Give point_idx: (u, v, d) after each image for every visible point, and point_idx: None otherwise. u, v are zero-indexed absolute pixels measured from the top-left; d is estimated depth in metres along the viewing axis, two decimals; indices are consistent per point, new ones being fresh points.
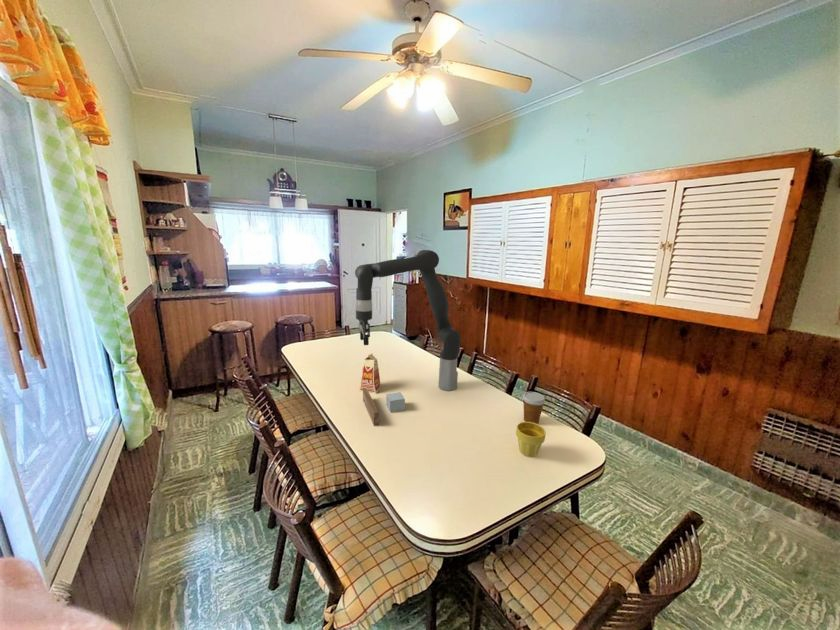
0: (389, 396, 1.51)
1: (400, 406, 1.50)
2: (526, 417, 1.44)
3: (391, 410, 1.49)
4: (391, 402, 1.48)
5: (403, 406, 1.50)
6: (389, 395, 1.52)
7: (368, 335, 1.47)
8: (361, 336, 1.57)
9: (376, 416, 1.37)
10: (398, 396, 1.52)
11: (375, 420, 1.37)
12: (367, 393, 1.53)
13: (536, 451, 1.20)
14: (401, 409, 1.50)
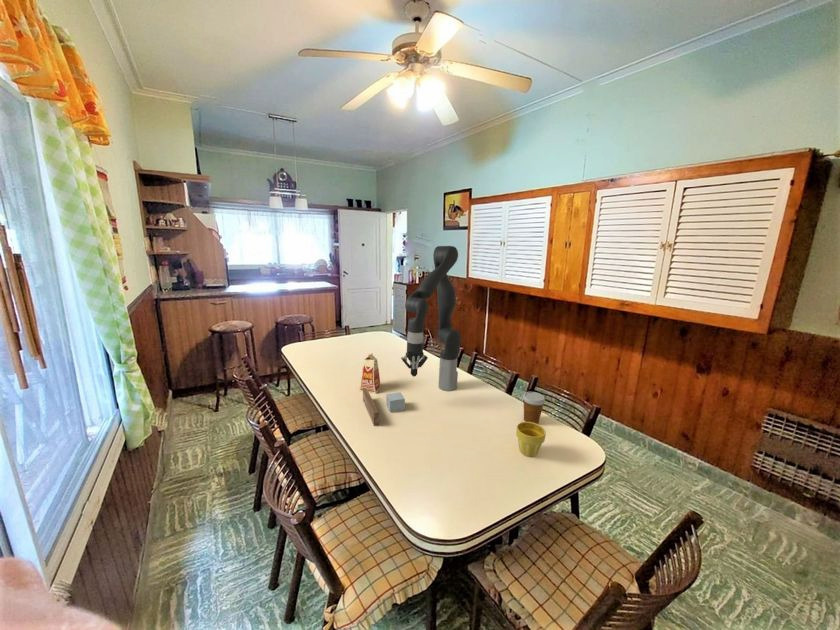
0: (389, 396, 1.51)
1: (400, 406, 1.50)
2: (526, 417, 1.44)
3: (391, 410, 1.49)
4: (391, 402, 1.48)
5: (403, 406, 1.50)
6: (389, 395, 1.52)
7: None
8: None
9: (376, 416, 1.37)
10: (398, 396, 1.52)
11: (375, 420, 1.37)
12: (367, 393, 1.53)
13: (536, 451, 1.20)
14: (401, 409, 1.50)
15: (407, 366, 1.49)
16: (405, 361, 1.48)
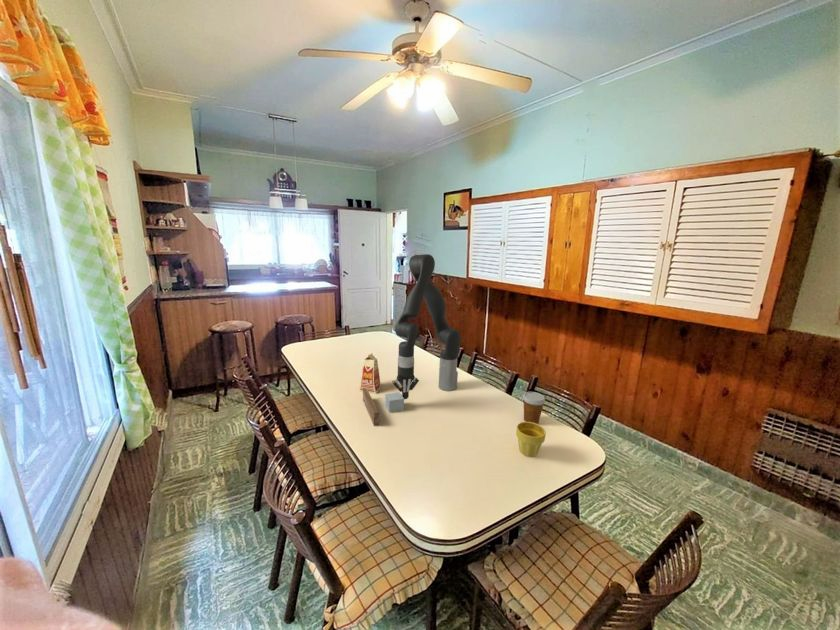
0: (388, 396, 1.51)
1: (400, 406, 1.50)
2: (526, 417, 1.44)
3: (390, 410, 1.48)
4: (390, 402, 1.47)
5: (402, 406, 1.50)
6: (388, 395, 1.52)
7: None
8: None
9: (376, 416, 1.37)
10: (397, 396, 1.52)
11: (375, 420, 1.37)
12: (367, 393, 1.53)
13: (536, 451, 1.20)
14: (400, 409, 1.50)
15: (398, 389, 1.50)
16: (396, 385, 1.49)
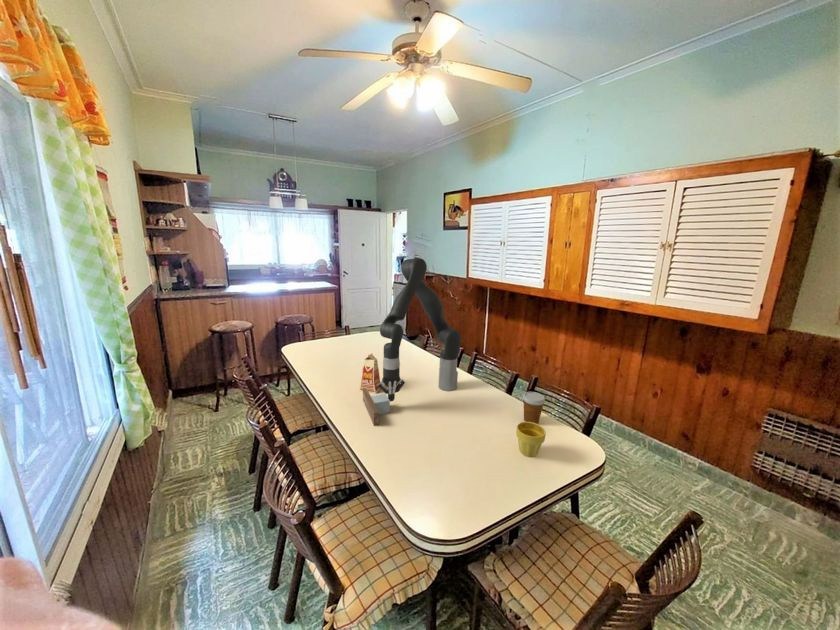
0: (373, 398, 1.49)
1: (385, 408, 1.47)
2: (526, 417, 1.44)
3: None
4: (375, 404, 1.45)
5: (388, 408, 1.48)
6: (373, 397, 1.50)
7: None
8: None
9: (376, 416, 1.37)
10: (382, 398, 1.49)
11: (375, 420, 1.37)
12: (367, 393, 1.53)
13: (536, 451, 1.20)
14: (386, 411, 1.48)
15: (384, 392, 1.48)
16: (381, 387, 1.47)
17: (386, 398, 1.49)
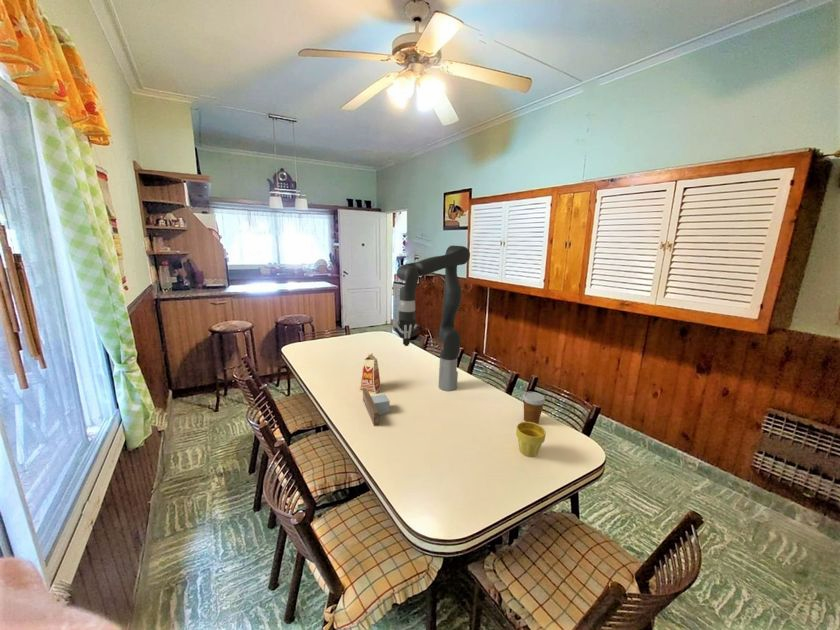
0: (373, 398, 1.49)
1: (385, 408, 1.47)
2: (526, 417, 1.44)
3: None
4: (375, 404, 1.45)
5: (388, 408, 1.48)
6: (373, 397, 1.50)
7: None
8: None
9: (376, 416, 1.37)
10: (382, 398, 1.49)
11: (375, 420, 1.37)
12: (367, 393, 1.53)
13: (536, 451, 1.20)
14: (386, 411, 1.48)
15: (399, 335, 1.49)
16: (397, 330, 1.48)
17: (386, 398, 1.49)
